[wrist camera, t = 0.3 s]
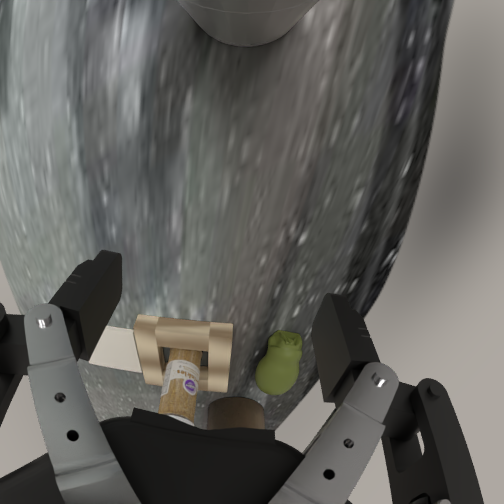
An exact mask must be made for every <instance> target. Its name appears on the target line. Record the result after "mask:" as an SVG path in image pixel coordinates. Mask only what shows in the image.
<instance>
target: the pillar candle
mask: <svg viewBox="0 0 504 504" xmlns="http://www.w3.org/2000/svg"><path fill="white" fill-rule="evenodd" d="M235 427H245V428H255V429H265V420H264V409H263V407H262V406H261V405H260V404H259V403H257V402H256V401H254V400H251V399H247V398H242V397H233V398H232V397H231V398H222V399H218V400H216V401H214V402H213V403H211V404H210V406H209V409H208V422H207V430H212V429H225V428H235Z"/></svg>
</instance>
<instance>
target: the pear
mask: <svg viewBox="0 0 504 504" xmlns="http://www.w3.org/2000/svg"><path fill="white" fill-rule="evenodd" d="M301 348H302V339H301V337H300V334H298V333H291V332H287V331H281V330H278V331H276V332H275V333H274V334H273V335H272V336H271V337H270V338H269V340H268V350H267V353H266V355H265V357H263V358H262V359H261V360H260V362H259V363H258V366H257V368H256V372H255V380H256V384H257V386H258V387H259V389H260V390H261V391H263V392H264V393H266V394H269V395H280V394H283V393H285V392H287V391H288V390H289V389H290V388H291V387H292V386H293V384H294V383H295V381H296V379H297V377H298V374H299V361H300V358H301V356H302V350H301Z"/></svg>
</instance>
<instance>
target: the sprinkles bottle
mask: <svg viewBox="0 0 504 504" xmlns="http://www.w3.org/2000/svg"><path fill="white" fill-rule="evenodd" d="M201 358H202V351H198V350H187V349H178V348H170V355H169V360H168V364H167V367H166V372H165V377H164V382H163V387H162V392H161V398H160V399H161V400H160V405H159V411H158V413H159V414H164V415H168V416H171V417H173V418H175V419H178V420H180V421H182V422H185V423H187V424H189V425H192V426H194V413H195V405H196V396H197V391H198V384H199V375H200V363H201ZM194 427H195V426H194Z"/></svg>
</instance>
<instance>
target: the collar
mask: <svg viewBox="0 0 504 504" xmlns="http://www.w3.org/2000/svg"><path fill="white" fill-rule="evenodd" d="M133 330H134V335H135V339H136V344H137V349H138V353H139V357H140V362H141V366H142V370H143V374H144V378H145V382H146V384H152V385H159V386H163V382H164V377H165V372H166V367H167V364H168V363H167V362H165V360H164V353H163V347H169V348H178V349H187V350H198V351H209V355H208V367H205V366H200V375H199V384H198V390H203V391H214V392H227V386H228V376H229V367H230V357H231V347H232V334H233V324H230V323H217V322H205V321H194V320H184V319H174V318H165V317H156V316H148V315H140V314H138V316H137V319H136V322H135V325H134V327H133Z"/></svg>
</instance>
